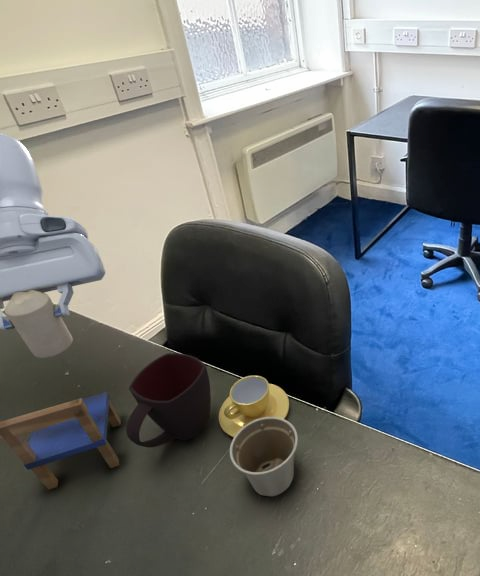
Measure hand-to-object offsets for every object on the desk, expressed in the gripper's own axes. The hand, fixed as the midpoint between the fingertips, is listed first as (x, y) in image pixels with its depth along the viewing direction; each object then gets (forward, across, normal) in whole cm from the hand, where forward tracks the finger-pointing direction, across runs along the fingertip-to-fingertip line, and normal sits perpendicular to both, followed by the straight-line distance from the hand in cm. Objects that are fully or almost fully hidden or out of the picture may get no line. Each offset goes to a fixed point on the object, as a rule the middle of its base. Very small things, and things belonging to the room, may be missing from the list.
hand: (36, 322), depth 66 cm
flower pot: (+33, +26, -4) cm, 43 cm away
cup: (+23, +26, +5) cm, 36 cm away
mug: (+23, +14, +6) cm, 28 cm away
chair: (+21, 0, +8) cm, 22 cm away
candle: (+4, 0, +4) cm, 6 cm away
